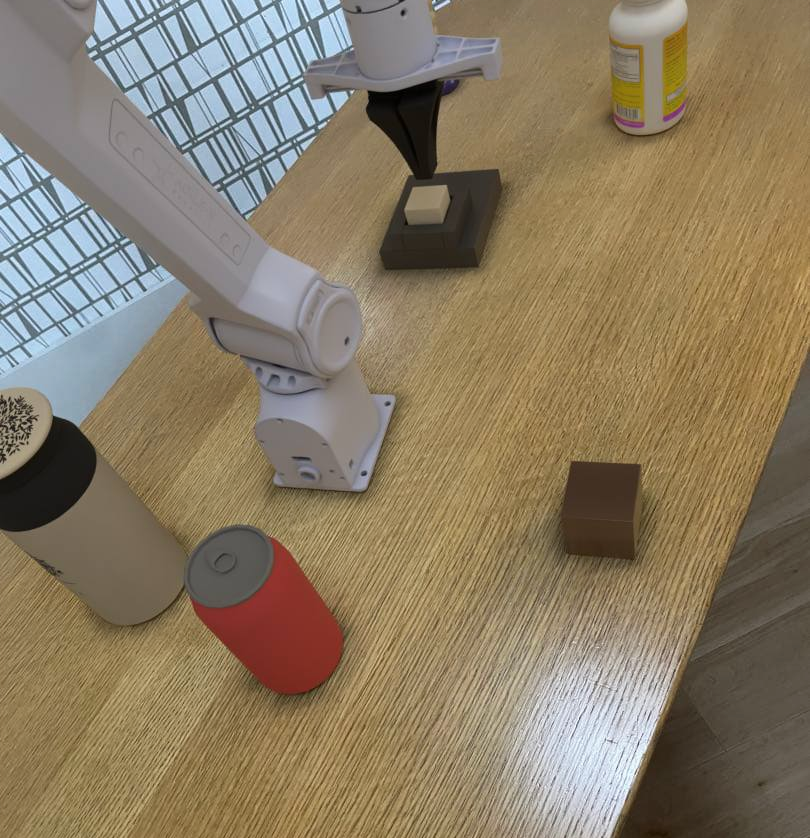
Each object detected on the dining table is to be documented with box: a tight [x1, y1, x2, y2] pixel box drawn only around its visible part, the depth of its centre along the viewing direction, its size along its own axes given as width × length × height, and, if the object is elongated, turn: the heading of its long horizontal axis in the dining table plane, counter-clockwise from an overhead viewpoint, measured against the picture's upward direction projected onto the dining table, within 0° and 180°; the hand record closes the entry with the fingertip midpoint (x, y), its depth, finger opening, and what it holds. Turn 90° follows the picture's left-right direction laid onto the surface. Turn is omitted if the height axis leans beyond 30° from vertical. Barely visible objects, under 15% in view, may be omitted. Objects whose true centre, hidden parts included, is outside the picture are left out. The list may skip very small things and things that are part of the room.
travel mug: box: [0, 386, 188, 626], centre depth 57 cm, size 8×8×18 cm
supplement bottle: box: [608, 0, 689, 136], centre depth 75 cm, size 7×7×13 cm
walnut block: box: [560, 460, 644, 560], centre depth 55 cm, size 4×4×4 cm
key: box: [404, 185, 450, 225], centre depth 74 cm, size 3×3×2 cm
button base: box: [378, 168, 503, 271], centre depth 77 cm, size 11×9×4 cm
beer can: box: [183, 523, 344, 695], centre depth 53 cm, size 7×7×12 cm
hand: (426, 171), depth 67 cm, fingers closed
